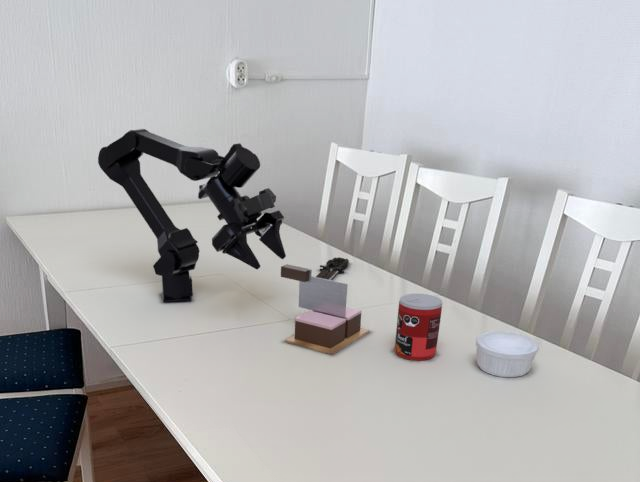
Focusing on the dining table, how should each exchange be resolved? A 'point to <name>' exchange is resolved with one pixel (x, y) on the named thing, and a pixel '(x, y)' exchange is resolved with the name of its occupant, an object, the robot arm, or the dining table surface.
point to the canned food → (418, 326)
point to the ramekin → (505, 353)
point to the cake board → (325, 349)
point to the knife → (334, 271)
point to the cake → (327, 327)
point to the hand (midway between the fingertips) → (271, 262)
